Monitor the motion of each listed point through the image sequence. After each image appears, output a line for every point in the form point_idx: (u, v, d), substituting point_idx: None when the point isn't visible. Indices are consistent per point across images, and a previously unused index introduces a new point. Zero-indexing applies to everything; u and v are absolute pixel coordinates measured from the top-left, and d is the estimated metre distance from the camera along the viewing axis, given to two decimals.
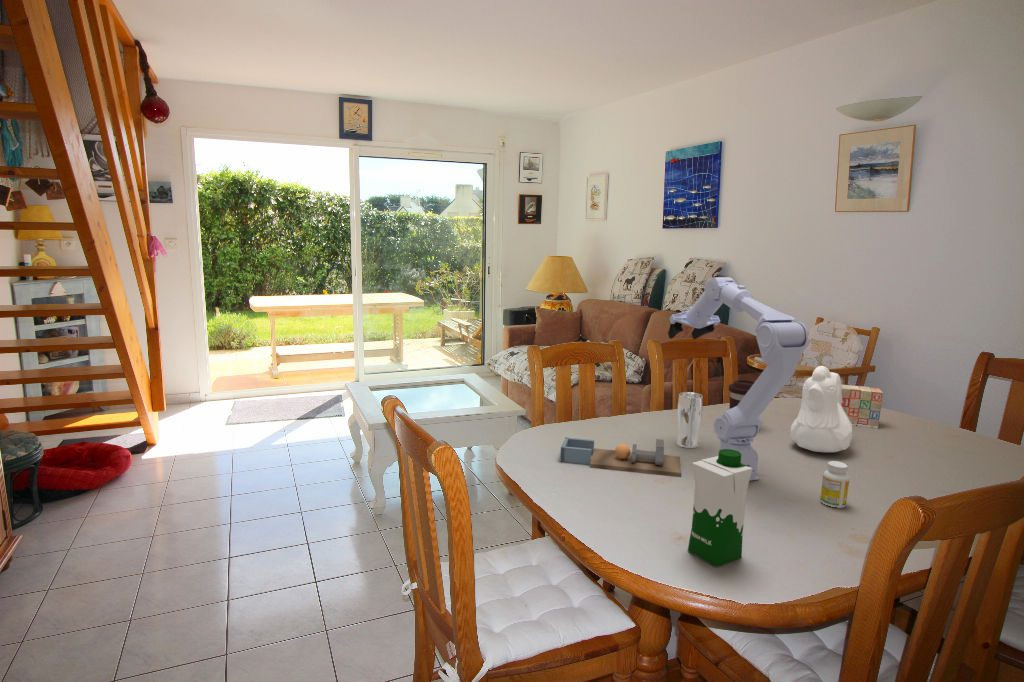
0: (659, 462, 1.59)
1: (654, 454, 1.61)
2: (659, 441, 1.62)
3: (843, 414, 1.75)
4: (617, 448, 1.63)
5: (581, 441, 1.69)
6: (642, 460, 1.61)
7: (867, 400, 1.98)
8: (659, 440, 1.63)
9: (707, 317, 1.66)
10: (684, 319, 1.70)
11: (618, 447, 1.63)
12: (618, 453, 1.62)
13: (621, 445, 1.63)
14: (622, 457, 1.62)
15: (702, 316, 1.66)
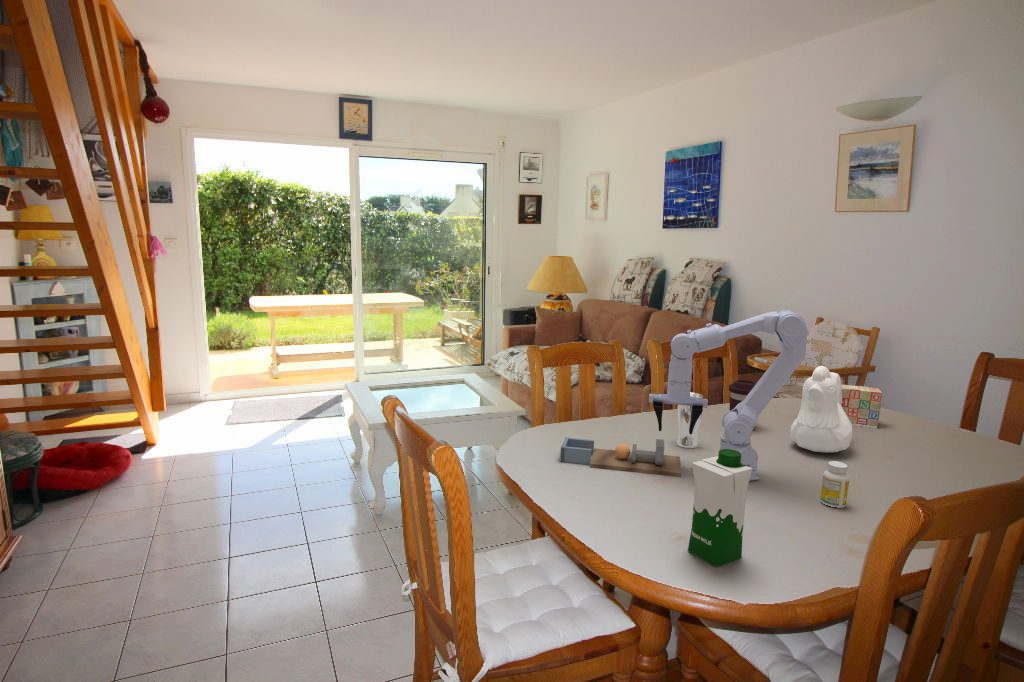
0: (659, 462, 1.59)
1: (654, 454, 1.61)
2: (659, 441, 1.62)
3: (843, 414, 1.75)
4: (617, 448, 1.63)
5: (581, 441, 1.69)
6: (642, 460, 1.61)
7: (866, 400, 1.98)
8: (659, 440, 1.63)
9: (680, 383, 1.55)
10: (663, 397, 1.59)
11: (618, 447, 1.63)
12: (618, 453, 1.62)
13: (621, 445, 1.63)
14: (622, 457, 1.62)
15: (674, 383, 1.56)
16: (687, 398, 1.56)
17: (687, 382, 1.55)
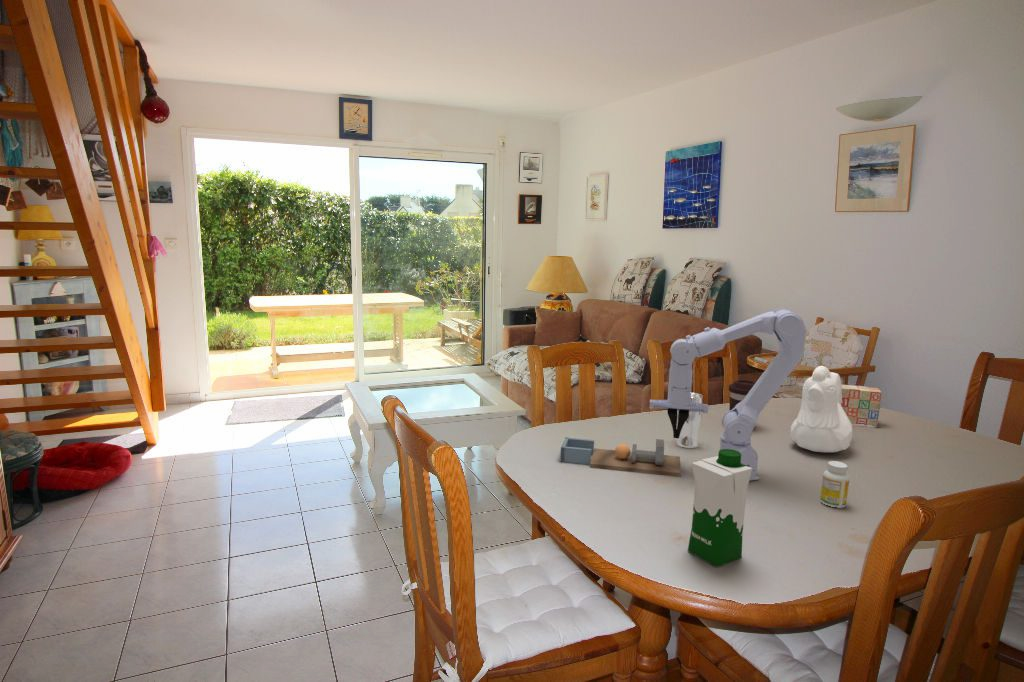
0: (659, 462, 1.59)
1: (654, 454, 1.61)
2: (659, 441, 1.62)
3: (843, 414, 1.75)
4: (617, 448, 1.63)
5: (581, 441, 1.69)
6: (642, 460, 1.61)
7: (866, 400, 1.98)
8: (659, 440, 1.63)
9: (681, 389, 1.55)
10: None
11: (618, 447, 1.63)
12: (618, 453, 1.62)
13: (621, 445, 1.63)
14: (622, 457, 1.62)
15: (675, 389, 1.55)
16: (688, 404, 1.56)
17: (687, 388, 1.55)
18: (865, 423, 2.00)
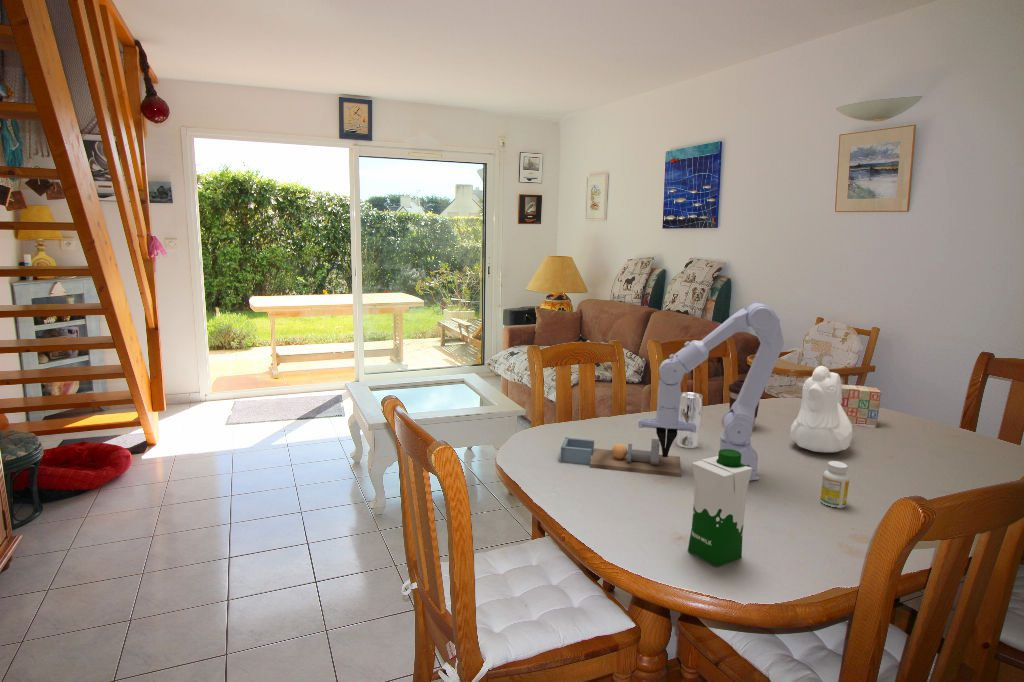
0: (655, 461, 1.59)
1: (649, 454, 1.61)
2: (654, 441, 1.63)
3: (843, 414, 1.75)
4: (613, 450, 1.63)
5: (581, 441, 1.69)
6: (637, 460, 1.62)
7: (865, 399, 1.99)
8: (654, 440, 1.63)
9: (669, 409, 1.56)
10: (652, 422, 1.60)
11: (613, 448, 1.63)
12: (615, 454, 1.63)
13: (616, 445, 1.63)
14: (620, 457, 1.62)
15: (663, 408, 1.57)
16: (676, 423, 1.58)
17: (675, 407, 1.57)
18: (865, 423, 2.00)
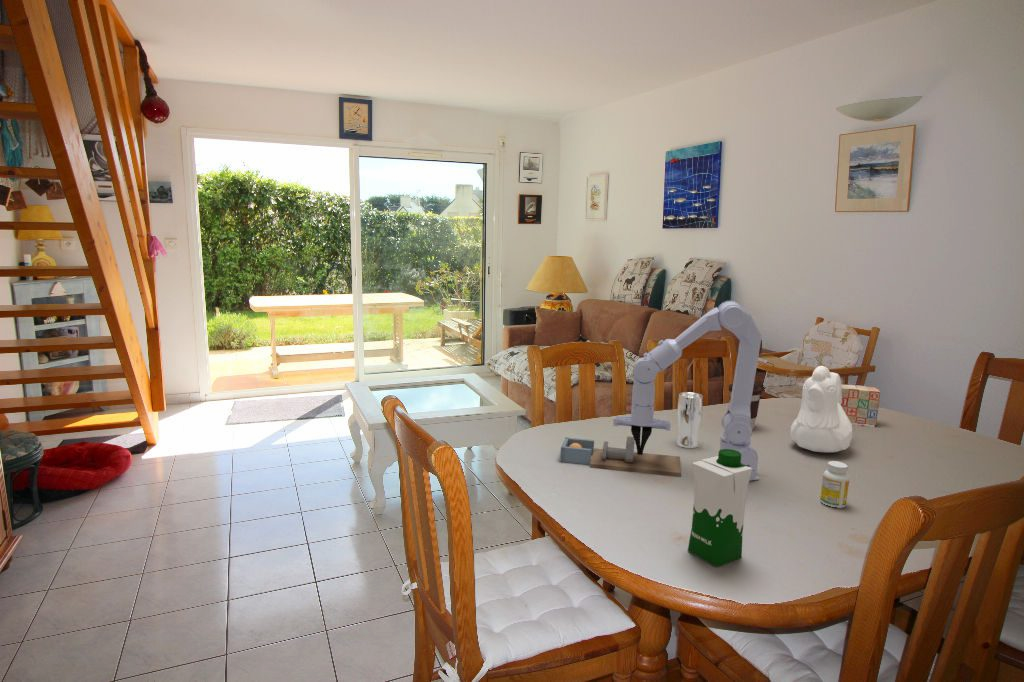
0: (629, 459, 1.61)
1: (624, 451, 1.63)
2: (629, 438, 1.64)
3: (843, 414, 1.75)
4: None
5: (581, 441, 1.69)
6: (613, 457, 1.63)
7: (865, 399, 1.99)
8: (630, 437, 1.65)
9: (643, 407, 1.58)
10: (627, 420, 1.62)
11: None
12: None
13: (572, 444, 1.66)
14: None
15: (637, 407, 1.58)
16: (650, 421, 1.59)
17: (650, 405, 1.58)
18: (864, 422, 2.00)
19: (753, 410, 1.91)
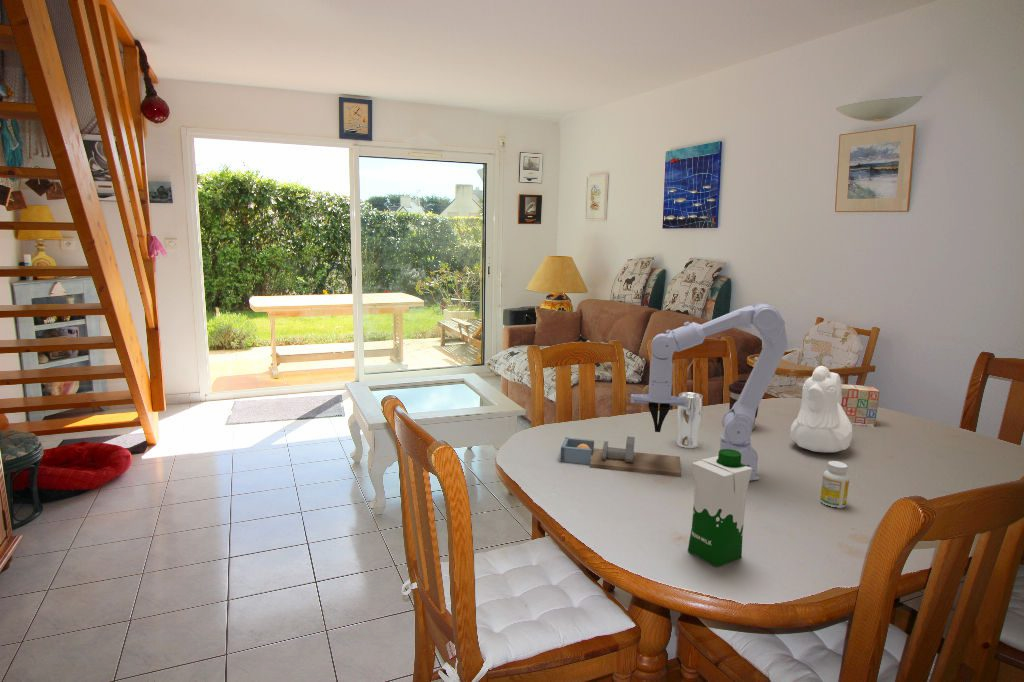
0: (629, 459, 1.61)
1: (624, 451, 1.63)
2: (629, 438, 1.64)
3: (843, 414, 1.75)
4: (582, 446, 1.65)
5: (581, 441, 1.69)
6: (613, 457, 1.63)
7: (864, 399, 2.00)
8: (630, 437, 1.65)
9: (661, 383, 1.56)
10: (644, 397, 1.60)
11: (583, 446, 1.65)
12: None
13: (587, 446, 1.65)
14: None
15: (655, 383, 1.57)
16: (668, 398, 1.58)
17: (668, 382, 1.56)
18: (863, 422, 2.01)
19: None
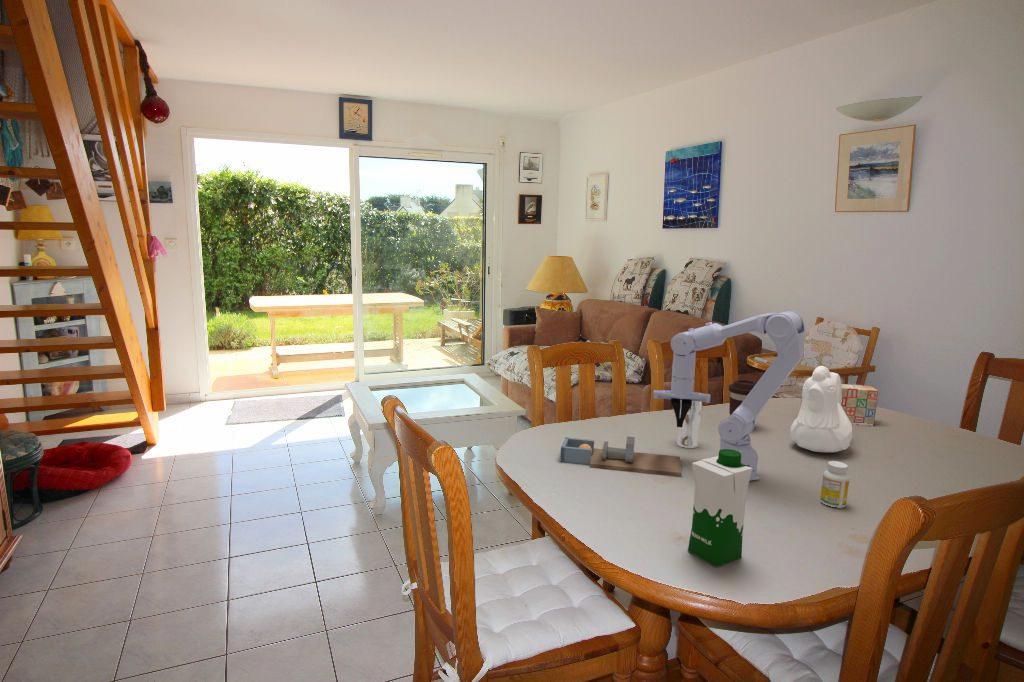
0: (629, 459, 1.61)
1: (624, 451, 1.63)
2: (629, 438, 1.64)
3: (843, 414, 1.75)
4: (585, 446, 1.65)
5: (581, 441, 1.69)
6: (613, 457, 1.63)
7: (863, 398, 2.00)
8: (630, 437, 1.65)
9: (684, 379, 1.61)
10: (667, 393, 1.65)
11: (587, 447, 1.65)
12: None
13: (590, 448, 1.65)
14: None
15: (678, 379, 1.61)
16: (690, 394, 1.62)
17: (690, 378, 1.61)
18: (862, 421, 2.01)
19: None
